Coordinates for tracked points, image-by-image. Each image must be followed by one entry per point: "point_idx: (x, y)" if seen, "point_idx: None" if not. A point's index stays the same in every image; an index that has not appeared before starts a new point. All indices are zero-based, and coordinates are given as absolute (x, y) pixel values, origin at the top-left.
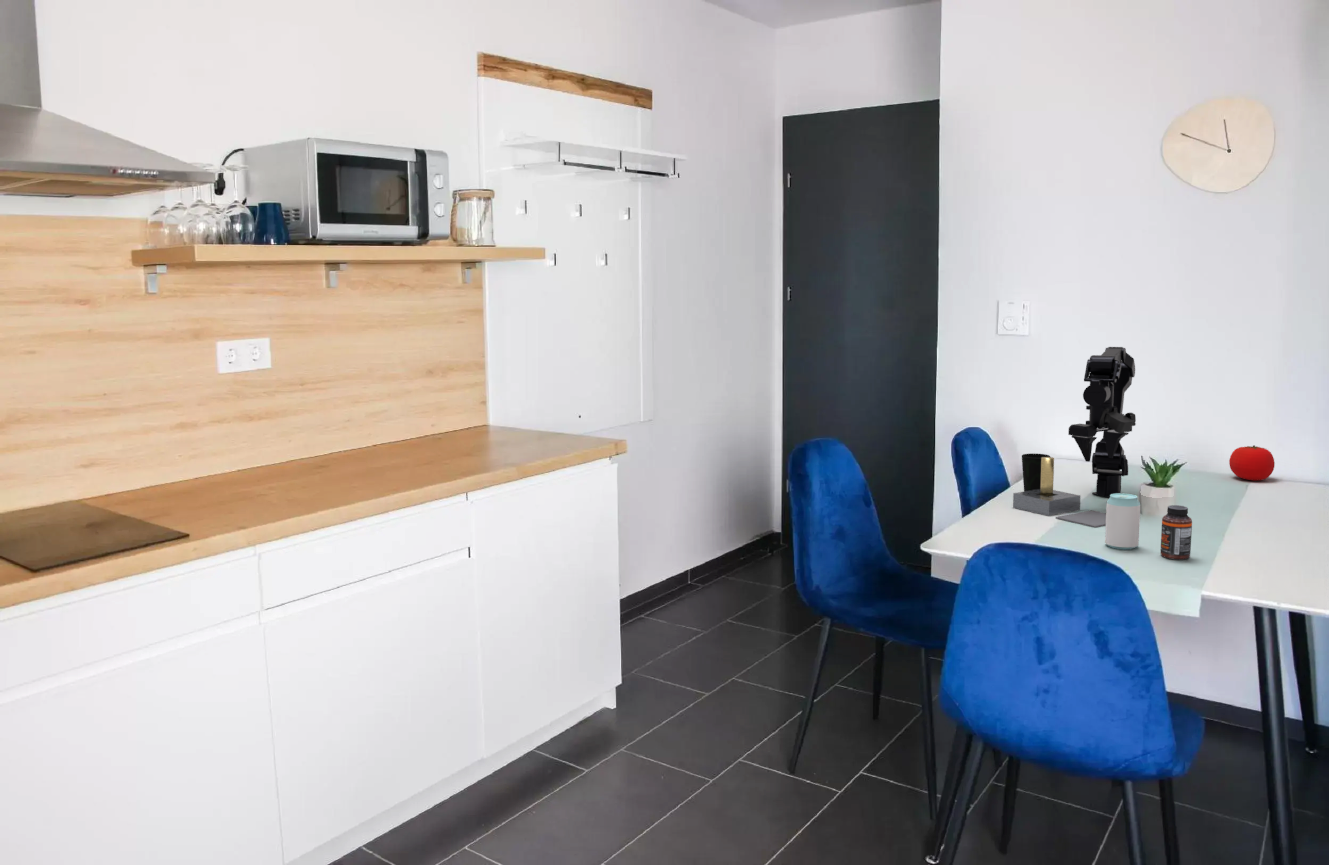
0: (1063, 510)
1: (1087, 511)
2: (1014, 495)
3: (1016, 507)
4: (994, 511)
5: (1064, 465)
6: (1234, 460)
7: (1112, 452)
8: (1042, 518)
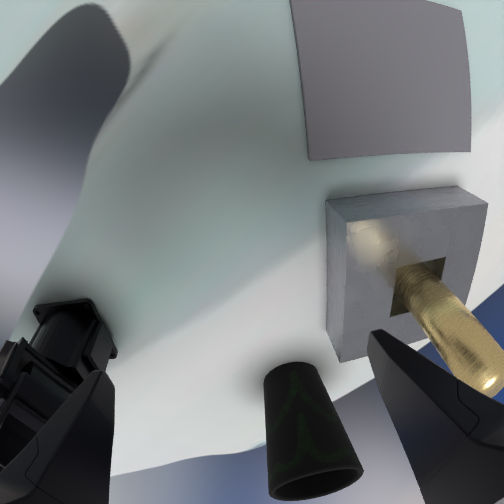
0: (409, 193)
1: (342, 152)
2: None
3: None
4: (486, 283)
5: None
6: None
7: (90, 403)
8: (484, 172)
